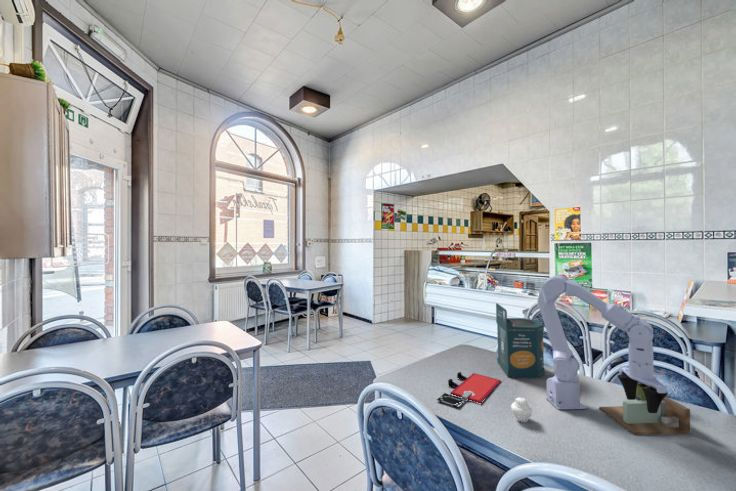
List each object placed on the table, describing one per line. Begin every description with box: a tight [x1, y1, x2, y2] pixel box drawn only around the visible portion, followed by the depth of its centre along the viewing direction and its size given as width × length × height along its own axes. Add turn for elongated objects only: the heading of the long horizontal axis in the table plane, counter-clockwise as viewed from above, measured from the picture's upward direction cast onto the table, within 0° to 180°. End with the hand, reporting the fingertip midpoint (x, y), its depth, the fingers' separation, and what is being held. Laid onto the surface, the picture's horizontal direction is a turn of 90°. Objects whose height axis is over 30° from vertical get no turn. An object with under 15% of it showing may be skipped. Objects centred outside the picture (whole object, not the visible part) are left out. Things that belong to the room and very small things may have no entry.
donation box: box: [495, 303, 546, 379], centre depth 138 cm, size 16×16×28 cm
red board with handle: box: [436, 371, 502, 407], centre depth 121 cm, size 30×3×15 cm
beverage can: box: [635, 381, 650, 401], centre depth 109 cm, size 6×7×12 cm
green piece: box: [622, 400, 666, 424], centre depth 96 cm, size 12×2×6 cm, turn 89°
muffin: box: [510, 397, 533, 423], centre depth 100 cm, size 6×6×7 cm
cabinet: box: [598, 396, 691, 436], centre depth 98 cm, size 16×14×7 cm
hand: (641, 405), depth 96 cm, fingers open, 7 cm apart
